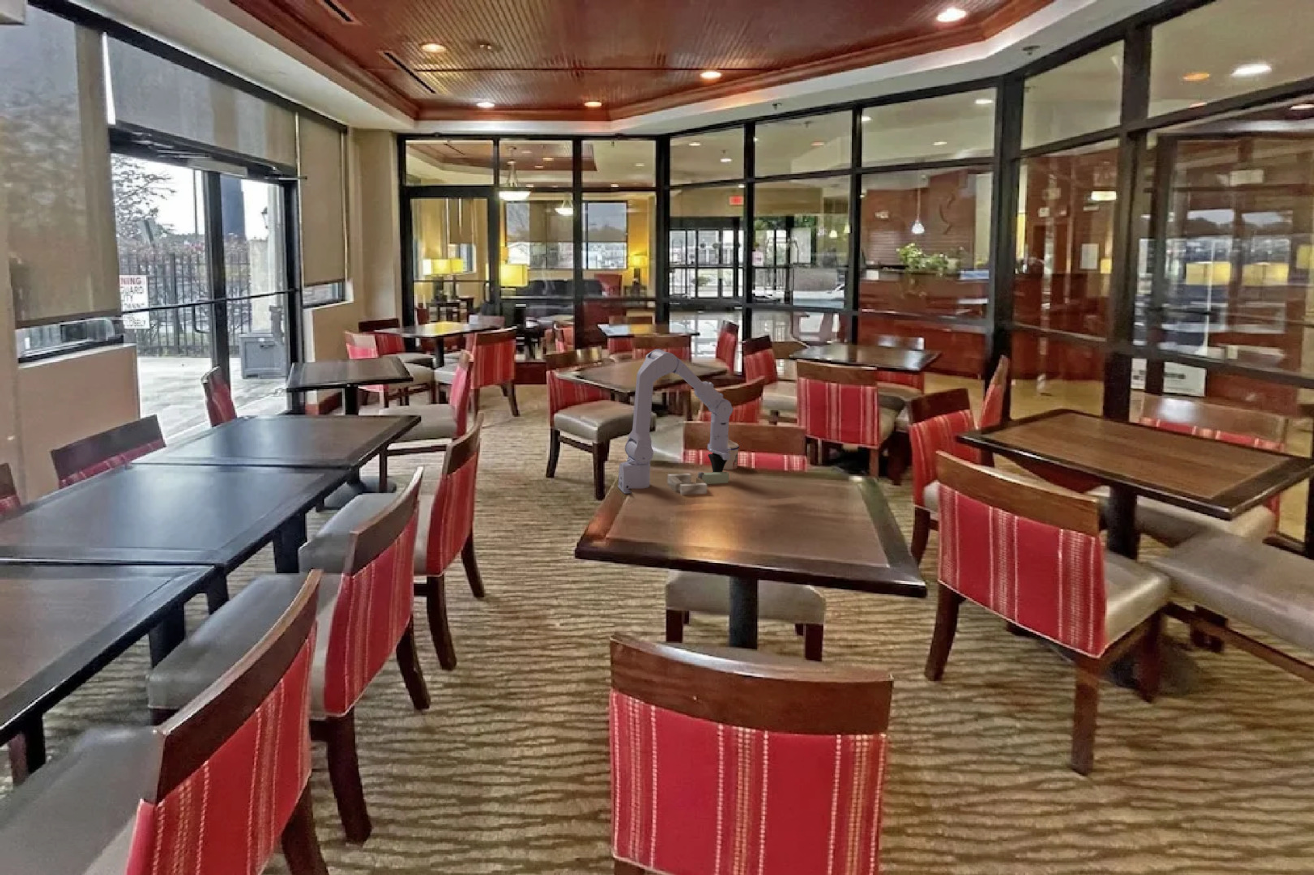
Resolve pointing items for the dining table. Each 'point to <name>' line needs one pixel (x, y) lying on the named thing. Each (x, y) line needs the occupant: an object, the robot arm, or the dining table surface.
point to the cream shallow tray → (680, 484)
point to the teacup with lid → (732, 456)
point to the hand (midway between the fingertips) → (717, 476)
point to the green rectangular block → (714, 477)
